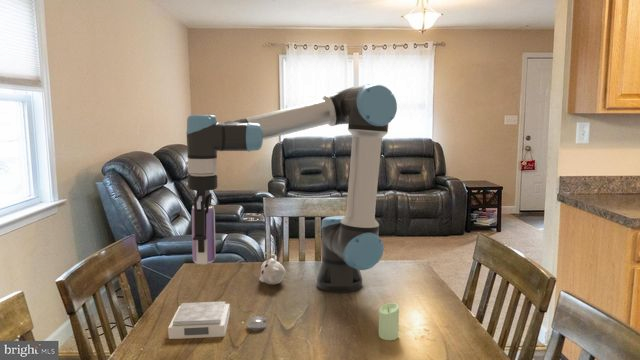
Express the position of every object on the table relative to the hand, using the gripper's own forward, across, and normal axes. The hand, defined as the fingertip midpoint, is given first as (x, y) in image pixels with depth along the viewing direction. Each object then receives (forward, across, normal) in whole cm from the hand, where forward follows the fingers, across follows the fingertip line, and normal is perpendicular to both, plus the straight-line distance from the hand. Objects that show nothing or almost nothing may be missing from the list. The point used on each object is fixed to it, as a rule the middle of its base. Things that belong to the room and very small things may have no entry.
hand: (204, 259), depth 129 cm
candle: (+17, +12, +48) cm, 52 cm away
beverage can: (+1, 0, 0) cm, 1 cm away
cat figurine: (+18, -30, +17) cm, 39 cm away
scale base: (+18, +2, -1) cm, 18 cm away
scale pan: (+15, +2, -1) cm, 15 cm away
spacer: (+18, +3, +14) cm, 23 cm away
